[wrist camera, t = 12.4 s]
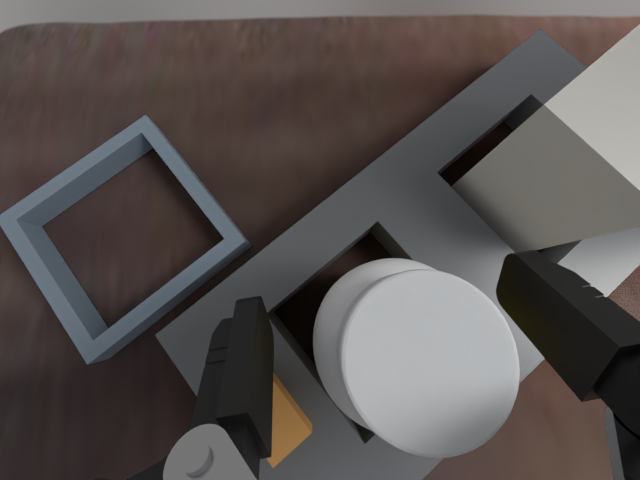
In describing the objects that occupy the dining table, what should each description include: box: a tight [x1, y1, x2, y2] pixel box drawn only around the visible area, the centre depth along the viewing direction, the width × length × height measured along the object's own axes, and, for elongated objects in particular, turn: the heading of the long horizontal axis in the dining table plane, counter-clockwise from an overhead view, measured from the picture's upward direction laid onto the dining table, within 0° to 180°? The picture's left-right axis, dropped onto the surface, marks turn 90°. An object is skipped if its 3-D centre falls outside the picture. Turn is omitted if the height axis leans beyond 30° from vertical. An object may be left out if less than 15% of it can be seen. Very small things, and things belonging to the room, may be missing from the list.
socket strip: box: [155, 24, 640, 480], centre depth 13 cm, size 26×12×8 cm, turn 130°
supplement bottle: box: [313, 258, 520, 458], centre depth 11 cm, size 5×5×10 cm
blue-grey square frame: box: [0, 115, 252, 365], centre depth 16 cm, size 10×10×2 cm
